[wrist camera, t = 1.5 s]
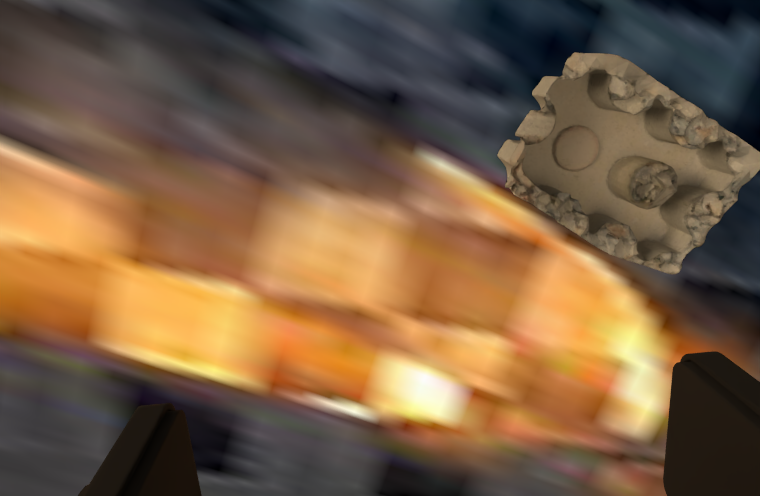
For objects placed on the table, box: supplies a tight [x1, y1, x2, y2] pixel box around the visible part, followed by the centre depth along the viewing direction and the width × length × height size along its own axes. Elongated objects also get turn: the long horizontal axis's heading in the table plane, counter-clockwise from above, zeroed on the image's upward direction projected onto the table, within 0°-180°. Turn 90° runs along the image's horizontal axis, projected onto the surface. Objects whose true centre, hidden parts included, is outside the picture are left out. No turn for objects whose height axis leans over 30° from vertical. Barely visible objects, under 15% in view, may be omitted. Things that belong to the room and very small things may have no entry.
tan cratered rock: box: [497, 53, 760, 274], centre depth 27 cm, size 11×8×4 cm
